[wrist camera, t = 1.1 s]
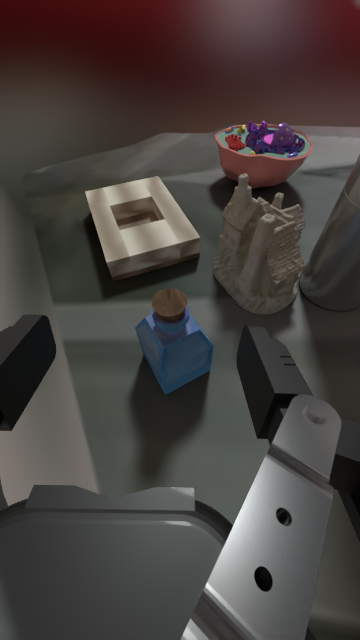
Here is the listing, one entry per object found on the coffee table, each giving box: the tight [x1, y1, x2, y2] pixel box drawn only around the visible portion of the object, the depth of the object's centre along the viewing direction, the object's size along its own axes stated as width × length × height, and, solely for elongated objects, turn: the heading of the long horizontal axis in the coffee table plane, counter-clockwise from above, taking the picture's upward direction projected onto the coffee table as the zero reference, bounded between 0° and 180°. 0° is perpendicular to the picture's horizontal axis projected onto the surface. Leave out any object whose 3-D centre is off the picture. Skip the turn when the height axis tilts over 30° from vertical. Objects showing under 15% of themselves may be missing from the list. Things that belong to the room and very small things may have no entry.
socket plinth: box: [85, 176, 200, 282], centre depth 46 cm, size 15×22×4 cm
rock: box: [213, 173, 305, 315], centre depth 36 cm, size 16×16×15 cm
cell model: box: [215, 121, 314, 189], centre depth 53 cm, size 17×20×11 cm
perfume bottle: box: [135, 289, 214, 395], centre depth 27 cm, size 6×6×12 cm
